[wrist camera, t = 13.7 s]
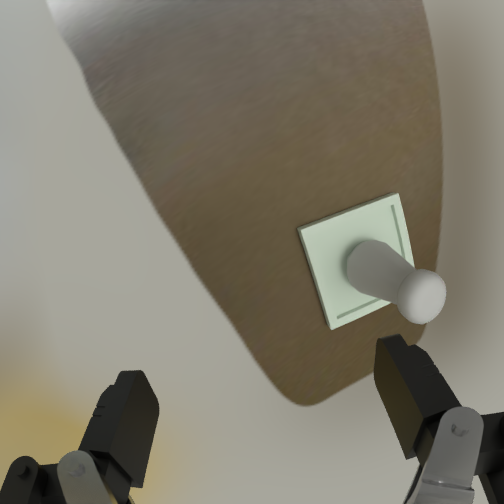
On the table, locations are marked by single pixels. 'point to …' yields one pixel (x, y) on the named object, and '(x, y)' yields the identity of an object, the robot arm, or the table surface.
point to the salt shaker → (396, 281)
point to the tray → (340, 247)
